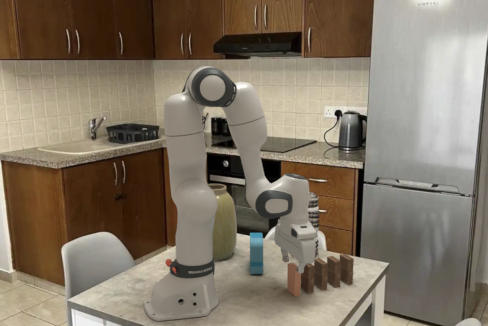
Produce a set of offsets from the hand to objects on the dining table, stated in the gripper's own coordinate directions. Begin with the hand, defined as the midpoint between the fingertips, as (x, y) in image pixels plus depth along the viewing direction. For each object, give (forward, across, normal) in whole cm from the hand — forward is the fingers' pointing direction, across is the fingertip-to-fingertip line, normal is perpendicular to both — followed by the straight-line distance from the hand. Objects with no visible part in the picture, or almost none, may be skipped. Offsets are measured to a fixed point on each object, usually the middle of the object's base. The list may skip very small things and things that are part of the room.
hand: (292, 266), depth 156 cm
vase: (+9, -41, -11) cm, 43 cm away
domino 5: (+8, 0, +21) cm, 22 cm away
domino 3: (+9, 0, +11) cm, 14 cm away
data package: (+9, -22, -2) cm, 24 cm away
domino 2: (+9, 0, +6) cm, 10 cm away
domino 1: (+9, 0, +1) cm, 9 cm away
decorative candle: (+9, -24, +20) cm, 32 cm away
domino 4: (+8, 0, +16) cm, 18 cm away
